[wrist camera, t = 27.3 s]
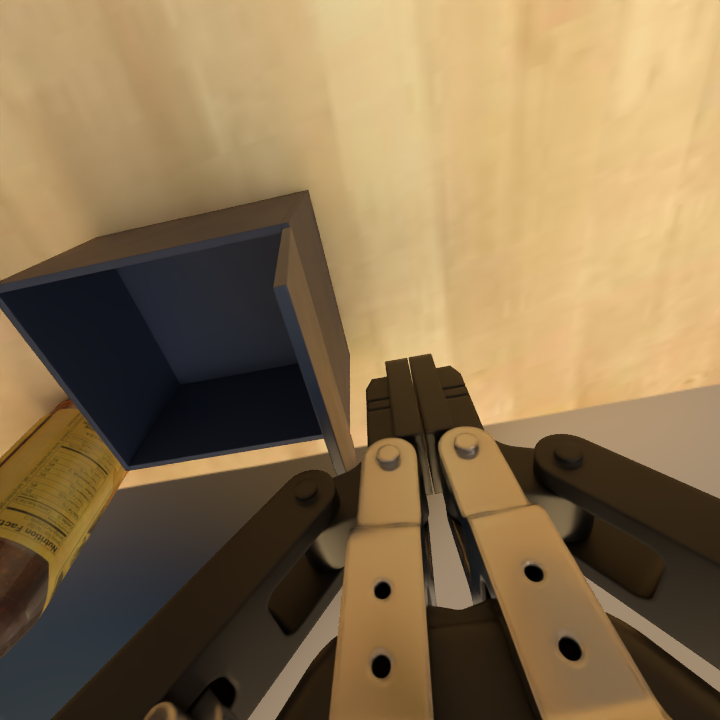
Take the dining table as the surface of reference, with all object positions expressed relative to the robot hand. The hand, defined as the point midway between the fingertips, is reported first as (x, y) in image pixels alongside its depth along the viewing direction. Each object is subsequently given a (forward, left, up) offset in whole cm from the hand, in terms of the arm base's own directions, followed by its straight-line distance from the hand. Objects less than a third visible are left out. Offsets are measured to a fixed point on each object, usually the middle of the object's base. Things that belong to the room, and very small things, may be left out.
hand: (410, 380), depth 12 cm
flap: (0, -3, 0) cm, 3 cm away
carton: (0, -9, -11) cm, 14 cm away
